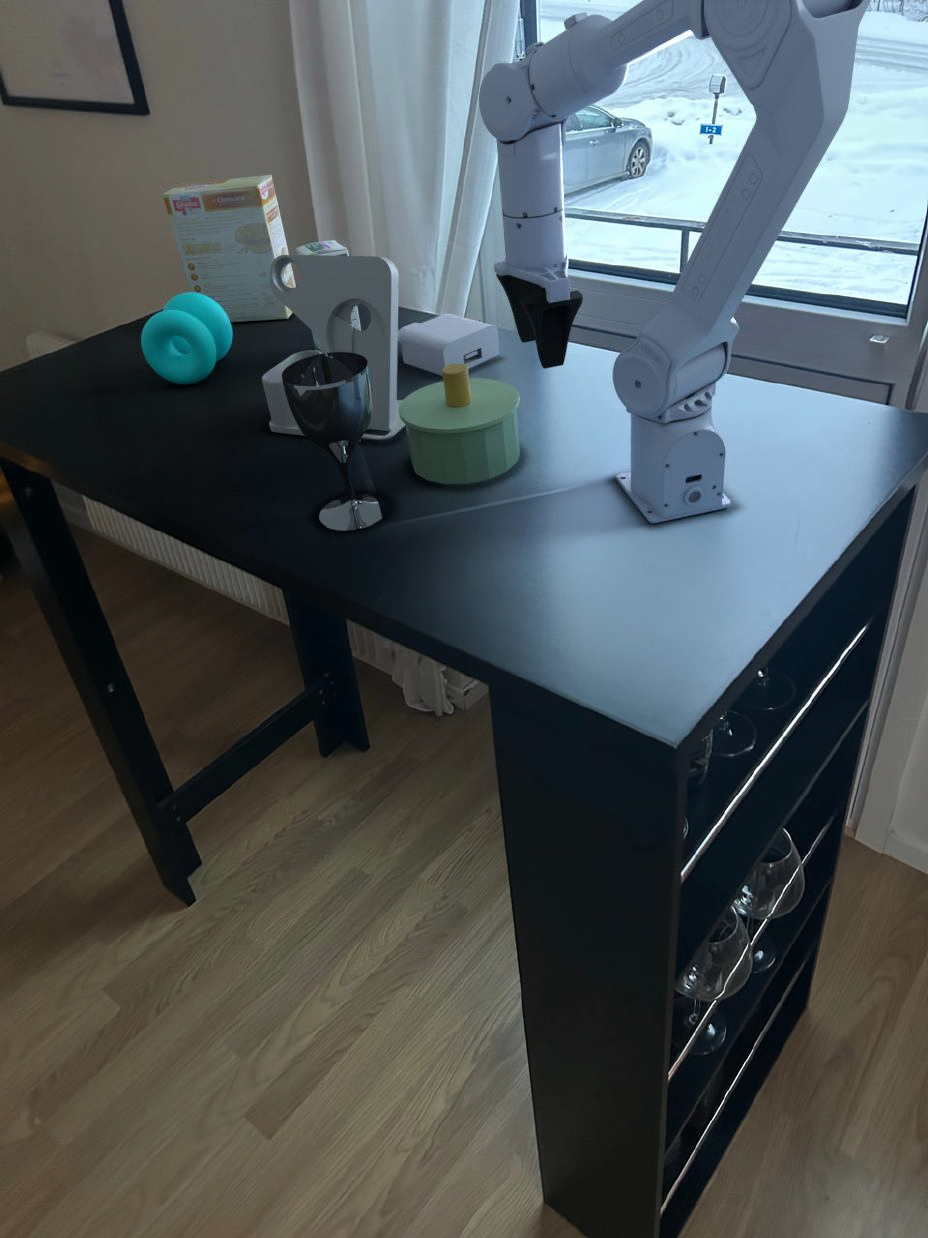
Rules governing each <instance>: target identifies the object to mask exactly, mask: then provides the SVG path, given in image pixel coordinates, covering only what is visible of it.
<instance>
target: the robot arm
mask: <svg viewBox="0 0 928 1238" xmlns="http://www.w3.org/2000/svg"><path fill="white" fill-rule="evenodd" d="M871 1H872V0H641V1H639V2H638V3H637V4H635V5H634V6H633V7H631V8H630V9H628V10H627V11H624V13H622V14H621V15H619V16H618V17H617V18H615V19H613V20H612V19H610V18H609V17H606V16H604V15H602V14H590V15H588V13H587V12H585V11H584V12H579V13H575V14H572V15H571V16H569V17H568V18H566V19H564V20H563V26H564V31H562V32H560V33H559V34H556V36H554V37H553V38H551V39H549V40H548V41H547V42H543V41H538V42H537V41H536V42H534V43H532V44H530V45H529V46H527V47H526V48H525V49H526V51H525V52H526V55H525V56H524V57H523V59H522V60H518V61H514V62H510V63H509V62H498V63H495V64H494V65H493V66H492V68H491V69H490V70H489V71H487V73H486V74H485V75H484V76H483V79H482V81H481V83H480V87H479V93H478V106H479V112H480V115H481V119H482V122H483V124H484V126H485V128H486V130H487V131H488V132H489V134H490V135H491V136H492V137H494V138H495V139H496V150H497V164H498V177H499V190H500V203H501V204H500V205H501V215H502V225H503V226H502V227H503V229H502V230H503V241H504V253H505V254H504V255H505V258H504V261H503V260H502V261H499V262H496V263H494V264H493V270H494V272H495V276H496V278H497V280H498V282H499V283H500V285H501V287H502V289H503V291H504V293H505V295H506V297H507V300H508V303H509V305H510V309H511V312H512V316H513V320H514V323H515V327H516V331H517V333H518V337H519V339H520V342H521V343H522V344H524V343H529V342H534V341H535V346H536V352H537V356H538V361H539V363H540V365H541V367H542V369H544V370H545V369H549V368H556V367H561V366H564V364H565V360H566V355H567V350H568V346H569V345H568V344H569V340H570V335H571V330H572V326H573V323H574V321H575V319H576V316H577V314H578V312H579V310H580V308H581V306H582V305H583V301H584V295H583V294H582V293H581V292H580V291H579V290H572V291H571V287H570V284H571V283H570V277H569V276H568V269H569V255H568V254H567V245H566V220H565V198H564V194H565V193H564V174H563V173H564V172H563V171H564V170H563V148H564V147H565V143H567V125H568V122H569V120H570V118H571V116H574V115H576V114H577V113H579V112H581V111H583V110H585V109H586V108H589V107H591V106H592V105H595V104H596V103H598V102H600V101H602V100H604V99H607V98H608V97H610V96H612V95H613V94H615V93H617V92H619V91H620V89H621V88H622V87H623V85H624V84H625V83H626V81H627V77H628V74H629V68H630V65H633V64H634V63H636V62H639V61H641V60H643V59H645V58H646V57H649V56H651V55H653V54H655V53H658V52H659V51H661V50H664V49H665V48H667V47H669V46H671V45H674V44H676V43H677V42H679V41H682V40H684V39H685V38H687V37H690V36H692V35H693V36H694V37H695V39H697V40H700V41H702V40H707V39H711V40H712V43H713V45H714V46H715V48H716V49H717V51H718V53H719V54H720V56H721V58H722V59H723V61H724V63H725V64H726V66H727V67H728V69H729V71H730V72H731V74H732V76H733V77H734V79H735V80H736V82H737V83H738V85H739V88H741V90H742V92H743V93H744V95H745V97H746V98H747V100H748V102H749V103H750V105H752V107H753V110H754V113H755V117H756V118H755V122H754V124H753V126H752V128H751V130H750V132H749V134H748V137H747V139H745V140H746V141H745V143H744V144H743V147H742V149H741V151H740V152H739V155H738V157H737V159H736V161H735V163H734V165H733V168H732V169H731V171H730V174H729V175H728V177H727V179H726V182H725V183H724V186H723V188H722V189H721V192H720V194H719V197H718V198H717V201H716V202H715V204H714V206H713V209H712V210H711V213H710V215H709V217H708V219H707V221H706V223H705V225H704V227H703V228H702V229H703V230H702V231H701V233H700V236H699V237H698V239H697V242H696V244H695V245H694V248H693V249H692V252H691V254H690V256H689V257H688V260H687V262H686V264H685V266H684V269H683V270H682V272H681V275H680V276H679V279H678V280H677V282H676V284H675V287H674V289H673V291H672V293H671V295H670V297H669V299H668V301H667V302H666V303H665V304H664V306H662V308H661V309H660V310H658V312H657V313H656V314H655V315H653V317H651V318H650V319H649V321H648V322H647V323H646V324H645V325H644V326H643V327H642V328H641V329H640V331H639V332H638V335H637V337H636V338H635V340H634V342H633V343H632V344H631V345H630V346H628V347H626V348H624V349H623V350H622V351H620V353H619V354H618V356H617V357H616V359H615V361H614V363H613V367H612V384H613V387H614V390H615V393H616V395H617V398H618V399H619V401H620V402H621V403H622V405H623V406H624V407H625V408H626V409H625V410H626V412H627V413H629V414H630V471H627V472H621V473H618V474H616V475H615V480H616V481H617V482H618V484H619V485H620V486H621V488H622V489H623V490H624V492H625V493H626V494H627V495H628V497H629V498H630V499H631V501H632V502H633V503H634V504H635V506H636V507H637V508H638V510H639V511H640V512H641V513H642V514H643V516H644V517H645V518H646V520H647V521H648V522H649V523H651V524H658V523H663V522H667V521H672V520H676V519H677V520H678V519H681V518H685V517H690V516H695V515H700V514H705V513H708V512H709V513H710V512H714V511H718V510H723V509H727V508H730V507H731V506H732V500H731V499H730V498H729V497H728V496H727V495H726V494H725V493H724V483H725V482H724V481H725V468H726V467H725V466H726V446H725V442H724V440H723V438H722V437H721V435H720V434H719V432H718V431H717V430H716V428H715V425H714V423H713V417H712V405H713V404H712V403H713V397H714V396H716V387H717V382H719V381H720V380H721V379H722V378H723V377H724V376H725V375H726V373H727V372H728V370H729V368H730V364H731V360H732V347H733V343H734V340H735V338H736V337H737V335H738V333H739V331H740V326H739V325H738V322H737V320H736V319H735V318H734V315H735V313H736V312H737V310H738V308H739V306H740V305H741V303H742V301H743V299H744V297H745V296H746V294H747V292H748V291H749V289H750V287H751V285H752V284H753V282H754V280H755V278H756V277H757V274H758V273H759V271H760V269H761V268H762V266H763V264H764V262H765V261H766V259H767V258H768V255H769V253H770V252H771V250H772V248H773V246H774V244H775V243H776V241H777V239H778V238H779V236H780V234H781V233H782V231H783V229H784V227H785V225H786V224H787V222H788V220H789V218H790V216H791V214H792V212H793V211H794V209H795V207H796V206H797V204H798V202H799V200H800V199H801V197H802V195H803V193H804V192H805V190H806V188H807V187H808V184H809V182H810V181H811V179H812V178H813V175H814V174H815V172H816V170H817V168H818V167H819V165H820V163H821V162H822V160H823V158H824V156H825V155H826V153H827V151H828V149H829V148H830V146H831V144H832V142H833V140H834V139H835V137H836V135H837V133H838V132H839V130H840V128H841V126H842V124H843V122H844V121H845V118H846V115H847V113H848V110H849V104H850V98H851V89H852V83H853V73H854V67H855V58H856V52H857V51H856V50H857V43H858V34H859V27H860V24H861V22H862V21H863V17H864V16H865V14H866V11H867V9H868V7H869V5H870V3H871Z"/></svg>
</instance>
